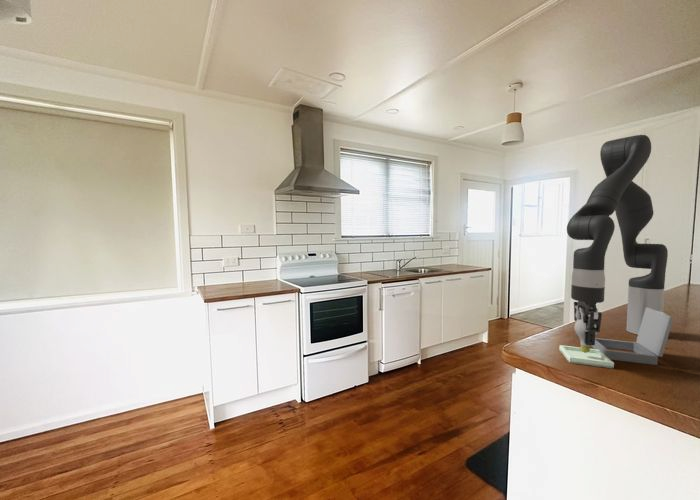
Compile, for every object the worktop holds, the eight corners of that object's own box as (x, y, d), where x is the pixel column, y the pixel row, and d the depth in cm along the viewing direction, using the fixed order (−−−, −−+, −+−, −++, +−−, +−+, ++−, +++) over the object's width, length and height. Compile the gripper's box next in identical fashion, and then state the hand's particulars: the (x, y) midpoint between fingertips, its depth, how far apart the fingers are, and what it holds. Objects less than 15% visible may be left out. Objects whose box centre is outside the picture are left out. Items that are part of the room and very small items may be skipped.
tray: (559, 349, 92) (559, 345, 92) (598, 354, 89) (598, 349, 88) (569, 362, 83) (569, 357, 83) (613, 368, 79) (614, 363, 79)
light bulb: (601, 357, 82) (603, 322, 82) (579, 355, 84) (581, 321, 83) (589, 349, 88) (591, 317, 87) (569, 348, 89) (570, 316, 88)
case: (590, 344, 96) (590, 337, 96) (635, 349, 92) (635, 342, 92) (605, 358, 86) (605, 350, 86) (657, 365, 81) (657, 356, 81)
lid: (646, 306, 91) (651, 308, 90) (635, 341, 92) (641, 343, 91) (670, 316, 80) (676, 318, 79) (658, 356, 81) (664, 357, 81)
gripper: (615, 289, 77) (612, 352, 77) (593, 281, 90) (591, 334, 91) (580, 287, 79) (578, 348, 80) (564, 280, 93) (562, 332, 94)
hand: (585, 340), depth 86 cm, fingers closed on light bulb, 5 cm apart
